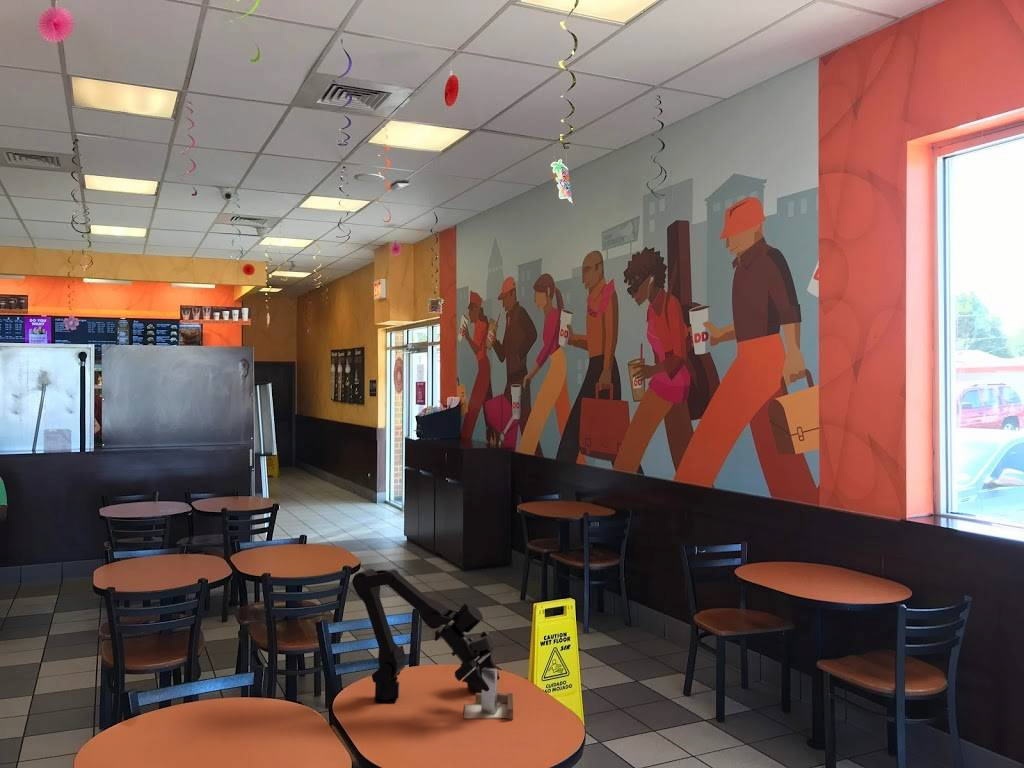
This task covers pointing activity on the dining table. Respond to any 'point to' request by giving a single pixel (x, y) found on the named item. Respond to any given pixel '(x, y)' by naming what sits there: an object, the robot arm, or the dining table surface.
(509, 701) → the corner fixture
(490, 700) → the bracket
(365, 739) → the dining table surface
